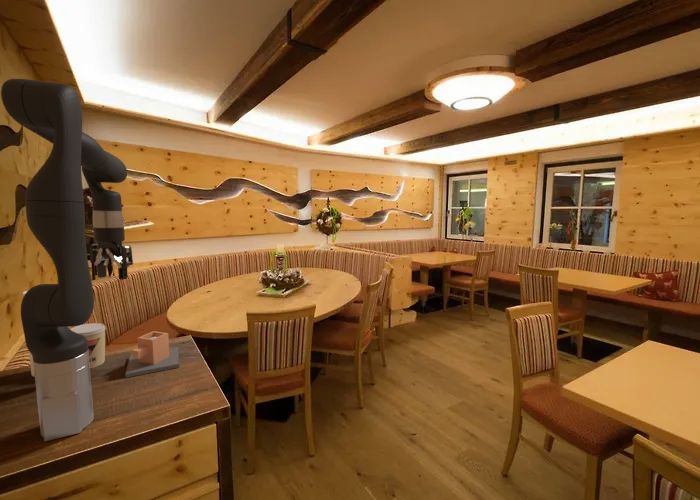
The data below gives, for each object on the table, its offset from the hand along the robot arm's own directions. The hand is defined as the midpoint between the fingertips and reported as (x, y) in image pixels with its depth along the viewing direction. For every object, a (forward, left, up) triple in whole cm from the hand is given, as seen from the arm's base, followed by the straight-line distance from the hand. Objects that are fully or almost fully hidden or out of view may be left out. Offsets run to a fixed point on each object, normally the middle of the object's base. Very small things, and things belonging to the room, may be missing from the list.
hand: (112, 278), depth 99 cm
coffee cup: (+4, +8, -28) cm, 30 cm away
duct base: (-4, -10, -28) cm, 30 cm away
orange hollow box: (-5, -9, -27) cm, 29 cm away
